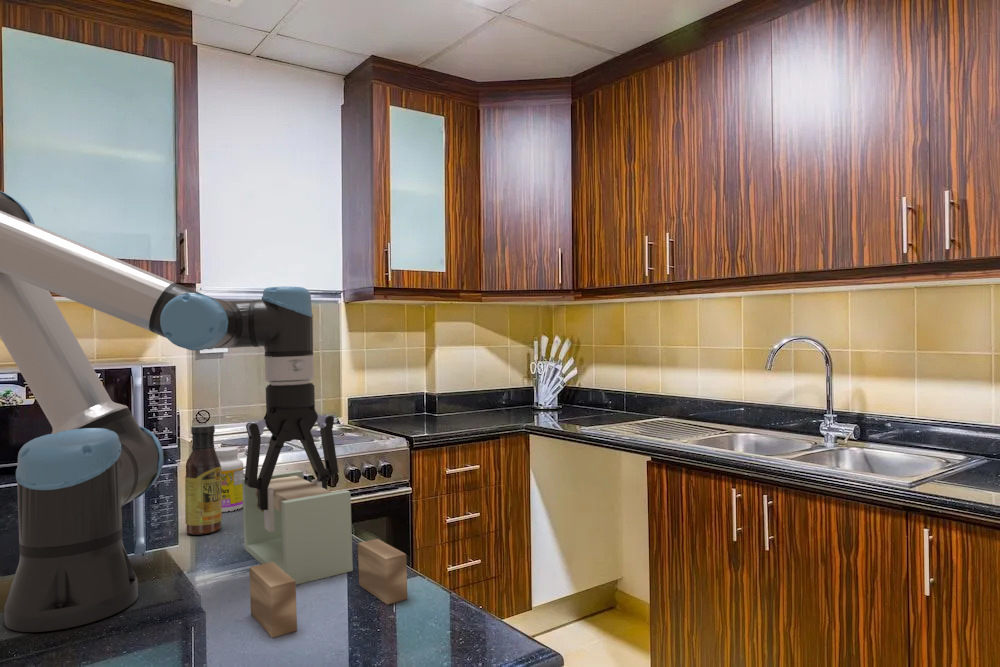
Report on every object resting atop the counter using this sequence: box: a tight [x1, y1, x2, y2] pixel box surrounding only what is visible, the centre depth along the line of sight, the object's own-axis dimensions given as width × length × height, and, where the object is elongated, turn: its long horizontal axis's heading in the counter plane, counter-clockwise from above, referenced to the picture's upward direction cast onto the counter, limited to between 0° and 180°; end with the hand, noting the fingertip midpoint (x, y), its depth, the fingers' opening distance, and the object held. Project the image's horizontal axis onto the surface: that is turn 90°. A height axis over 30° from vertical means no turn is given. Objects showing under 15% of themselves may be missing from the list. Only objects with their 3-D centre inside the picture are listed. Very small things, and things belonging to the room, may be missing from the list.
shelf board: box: [255, 476, 333, 513], centre depth 107 cm, size 18×7×2 cm, turn 36°
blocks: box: [249, 538, 408, 638], centre depth 87 cm, size 18×9×6 cm, turn 126°
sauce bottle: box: [184, 424, 223, 536], centre depth 125 cm, size 7×6×20 cm
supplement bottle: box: [214, 446, 244, 513], centre depth 141 cm, size 7×7×13 cm
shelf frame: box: [242, 469, 354, 586], centre depth 107 cm, size 23×10×12 cm, turn 36°
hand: (294, 524), depth 107 cm, fingers open, 7 cm apart
